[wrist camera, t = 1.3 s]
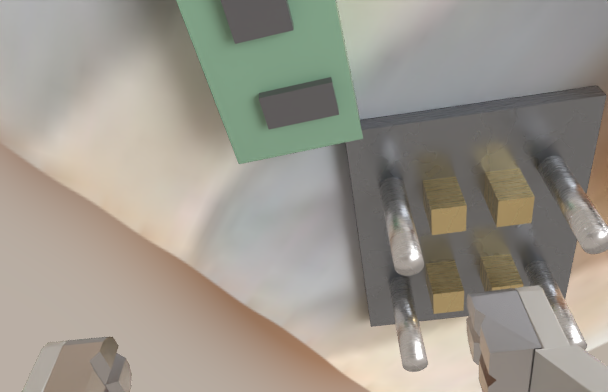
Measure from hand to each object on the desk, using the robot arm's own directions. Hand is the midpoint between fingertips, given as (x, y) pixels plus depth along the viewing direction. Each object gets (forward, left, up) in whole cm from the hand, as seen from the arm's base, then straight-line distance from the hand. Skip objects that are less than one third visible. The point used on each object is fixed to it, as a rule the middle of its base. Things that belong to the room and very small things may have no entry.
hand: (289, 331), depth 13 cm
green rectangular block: (-1, -1, -18) cm, 18 cm away
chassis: (+13, +8, -17) cm, 23 cm away
